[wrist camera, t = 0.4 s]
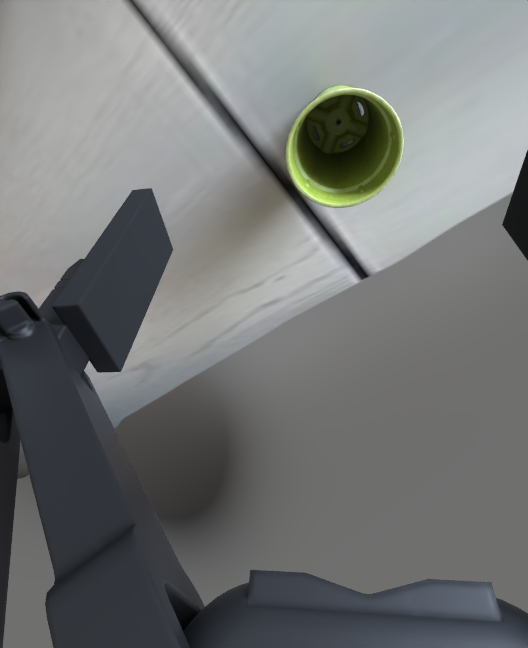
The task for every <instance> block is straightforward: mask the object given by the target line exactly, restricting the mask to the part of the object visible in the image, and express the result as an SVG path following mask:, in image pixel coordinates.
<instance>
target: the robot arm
mask: <svg viewBox="0 0 528 648" xmlns="http://www.w3.org/2000/svg"><path fill="white" fill-rule="evenodd" d="M502 225H503V226H504V228H505V229H506V231H507V232H508V233H509V235H510V236H511V237H512V239H513V241H514V242H515V243H516V245H517V246H518V247H519V249H520V250H521V252H522V253H523V255H524V256H525V257H526V259H527V260H528V150H527V153H526V156H525V159H524V162H523V165H522V168H521V171H520V174H519V177H518V180H517V183H516V186H515V189H514V192H513V195H512V197H511V201H510V204H509V206H508V209H507V212H506V215H505V218H504V221H503V224H502ZM172 251H173V248H172V245H171V242H170V239H169V236H168V234H167V231H166V228H165V225H164V222H163V219H162V217H161V214H160V211H159V208H158V205H157V202H156V200H155V197H154V194H153V191H152V188H150V189H140V190H132V192H131V193H130V195H129V196H128V198H127V199H126V200H125V202H124V203H123V205H122V206H121V208H120V209H119V210H118V212H117V213H116V215H115V216H114V218H113V219H112V220H111V222H110V223H109V225H108V226H107V228H106V229H105V231H104V232H103V233H102V235H101V236H100V238H99V239H98V241H97V242H96V243H95V245H94V246H93V248H92V249H91V251H90V252H89V253H88V255H87V256H86V258H85V259H80V260H79V261H77V262H76V263H75V264H73V265H72V266H71V267H70V268H68V269H67V271H66V272H65V274H64V275H63V276H62V278H61V281H59V282H58V283H57V285H56V286H55V289H53V290H52V291H51V293H50V294H49V296H48V297H47V298H46V300H45V301H44V302H43V304H42V305H41V307H40V308H39V309H38V308H37V306H36V305H35V304H34V302H33V301H32V299H31V298H30V297H29V296H28V295H27V294H26V293H24V292H12V293H7V294H5V295H2V296H0V648H3V636H4V624H5V612H6V601H7V590H8V589H7V588H8V578H9V566H10V555H11V543H12V531H13V530H12V529H13V520H14V508H15V496H16V484H17V473H18V462H19V450H20V439H21V443H22V447H23V451H24V455H25V459H26V463H27V467H28V471H29V475H30V479H31V483H32V487H33V490H34V494H35V498H36V502H37V506H38V510H39V514H40V518H41V522H42V526H43V530H44V533H45V538H46V541H47V545H48V550H49V553H50V558H51V561H52V565H53V569H54V575H55V583H54V585H53V587H52V588H51V589H50V590H49V591H48V592H47V596H46V602H45V605H46V613H47V620H48V625H49V629H50V634H51V638H52V643H53V647H54V648H528V613H526V612H525V611H523V610H521V609H519V608H518V607H516V606H514V605H511V604H509V603H507V602H505V601H503V600H501V599H498V598H496V597H495V594H494V590H493V587H492V583H491V582H474V581H454V580H434V579H427V580H423V581H419V582H415V583H412V584H408V585H405V586H401V587H397V588H393V589H389V590H386V591H382V592H378V593H374V594H363V593H360V592H357V591H354V590H351V589H349V588H346V587H343V586H340V585H337V584H335V583H332V582H329V581H326V580H324V579H321V578H318V577H316V576H313V575H310V574H307V573H299V572H280V571H259V570H251V571H250V581H249V583H246V584H242V585H239V586H237V587H235V588H233V589H230V590H228V591H227V592H225V593H223V594H222V595H220V596H218V597H217V598H215V599H214V600H213V601H212V602H210V603H209V604H208V605H207V606H206V607H205V606H204V604H203V602H202V600H201V598H200V596H199V594H198V592H197V591H196V589H195V587H194V585H193V584H192V582H191V581H190V579H189V578H188V576H187V575H186V573H185V572H184V570H183V568H182V566H181V565H180V563H179V561H178V559H177V557H176V555H175V553H174V551H173V549H172V547H171V544H170V542H169V540H168V539H167V536H166V534H165V532H164V530H163V528H162V526H161V524H160V522H159V520H158V518H157V516H156V514H155V512H154V510H153V508H152V506H151V503H150V501H149V499H148V497H147V495H146V493H145V491H144V489H143V487H142V485H141V483H140V481H139V479H138V477H137V475H136V473H135V471H134V469H133V467H132V465H131V462H130V461H129V458H128V457H127V454H126V452H125V450H124V448H123V446H122V444H121V442H120V440H119V438H118V436H117V434H116V432H115V430H114V428H113V426H112V424H111V421H110V419H109V417H108V415H107V413H106V411H105V409H104V407H103V405H102V403H101V401H100V399H99V397H98V395H97V393H96V391H95V389H94V387H93V385H92V383H91V380H90V378H89V377H88V375H87V374H86V373H85V371H84V369H85V367H86V365H87V363H88V361H90V362H91V363H92V365H93V366H94V368H95V369H96V371H97V372H121V370H122V368H123V366H124V363H125V361H126V359H127V356H128V354H129V352H130V349H131V347H132V345H133V342H134V340H135V338H136V335H137V333H138V331H139V328H140V326H141V324H142V321H143V319H144V317H145V314H146V312H147V309H148V307H149V305H150V302H151V300H152V298H153V295H154V293H155V291H156V288H157V286H158V284H159V281H160V279H161V277H162V274H163V272H164V270H165V267H166V265H167V263H168V260H169V258H170V256H171V253H172Z"/></svg>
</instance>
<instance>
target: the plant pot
mask: <svg viewBox="0 0 528 648" xmlns="http://www.w3.org/2000/svg"><path fill="white" fill-rule="evenodd" d="M327 99H328V100H327ZM325 100H326V101H325ZM323 101H325V102H324V103H322V102H323ZM357 102H360V103H361V105H362V106H363V109H364V115H363V116H361V113H360V109H359V107H358V104H357ZM338 119H339V120H340V121H341V123H340V124H339V125H336V124H335V122H336V120H338ZM313 127H315V128H316V131H317V134H318V136H319V137H320V139H319V140H318V139H316V138H315V136H314V134H313V130H312V128H313ZM351 139H353V142H352V143H351V144H349V145H347V146H345V147H341V144H343V143H346V142H348V141H350V140H351ZM403 144H404V140H403V131H402V127H401V123H400V121H399V118H398V116H397V114H396V113H395V111H394V110H393V108H392V107H391V106H390V105H389V104H388V103H387V102H386V101H385V100H384V99H382V98H381V97H380V96H378V95H376V94H374V93H372V92H370V91H367V90H364V89H358V88H352V87H349V86H344V85H341V86H334V87H330V88H328V89H326V90H324V91H323V92H322V93H320V94H319V95H318V96H317V97H316V98H315V99H314V101H312V102H311V103H310V104H309V105H308V106H306V107H305V109H304V110H303V111H302V112H301V113H300V114H299V116H298V117H297V119H296V120H295V122H294V124H293V126H292V128H291V130H290V132H289V135H288V139H287V143H286V152H285V155H286V156H285V157H286V165H287V169H288V172H289V175H290V177H291V179H292V181H293V183H294V184H295V186H296V187H297V189H298V190H299V191H300V192H301V193H302V194H303V195H304V196H306V197H307V198H308V199H310V200H311V201H313V202H315V203H318V204H320V205H323V206H326V207H333V208H344V207H351V206H355V205H358V204H360V203H363V202H365V201H367V200H369V199H371V198H372V197H374V196H375V195H376V194H378V193H379V192H380V191H381V190H382V189H383V188H384V187H385V186H386V185H387V184H388V183H389V181H390V180H391V179H392V177H393V175H394V174H395V172H396V170H397V168H398V166H399V163H400V161H401V157H402V153H403Z"/></svg>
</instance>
